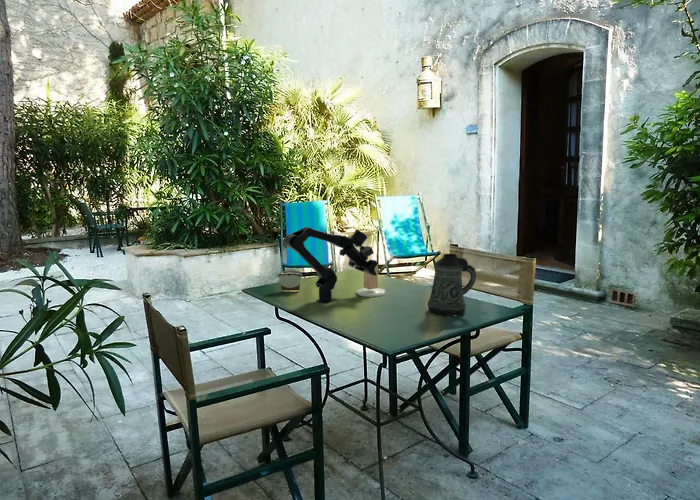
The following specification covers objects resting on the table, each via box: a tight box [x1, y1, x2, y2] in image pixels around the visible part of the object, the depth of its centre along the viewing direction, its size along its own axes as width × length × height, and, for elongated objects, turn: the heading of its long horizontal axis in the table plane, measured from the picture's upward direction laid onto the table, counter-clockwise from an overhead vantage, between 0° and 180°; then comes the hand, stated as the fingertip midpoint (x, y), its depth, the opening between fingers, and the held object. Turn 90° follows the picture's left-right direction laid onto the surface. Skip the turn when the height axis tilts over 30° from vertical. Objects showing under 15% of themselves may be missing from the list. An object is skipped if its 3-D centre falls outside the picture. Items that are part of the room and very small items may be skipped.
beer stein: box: [427, 253, 477, 317], centre depth 239 cm, size 16×19×25 cm
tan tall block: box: [363, 264, 379, 289], centre depth 273 cm, size 5×5×13 cm
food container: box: [277, 270, 303, 291], centre depth 281 cm, size 12×6×10 cm, turn 84°
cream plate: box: [356, 287, 386, 298], centre depth 274 cm, size 14×14×1 cm
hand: (372, 274), depth 273 cm, fingers closed on tan tall block, 5 cm apart
